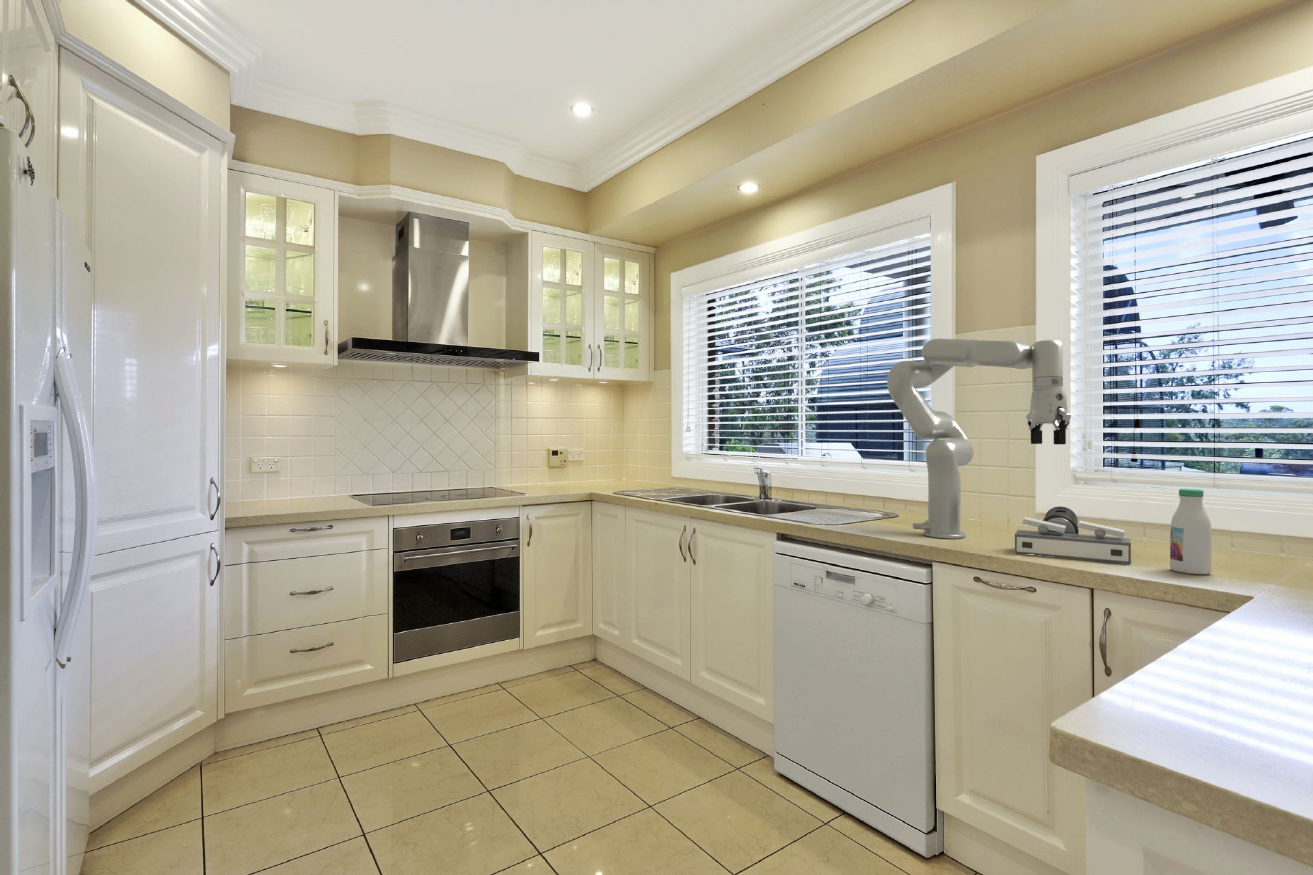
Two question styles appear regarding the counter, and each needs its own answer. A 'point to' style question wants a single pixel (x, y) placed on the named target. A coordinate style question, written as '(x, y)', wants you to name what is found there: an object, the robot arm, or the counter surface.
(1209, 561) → the milk bottle
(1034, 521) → the switch
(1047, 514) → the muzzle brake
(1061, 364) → the robot arm
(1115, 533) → the switch
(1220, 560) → the counter surface
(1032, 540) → the switch box
